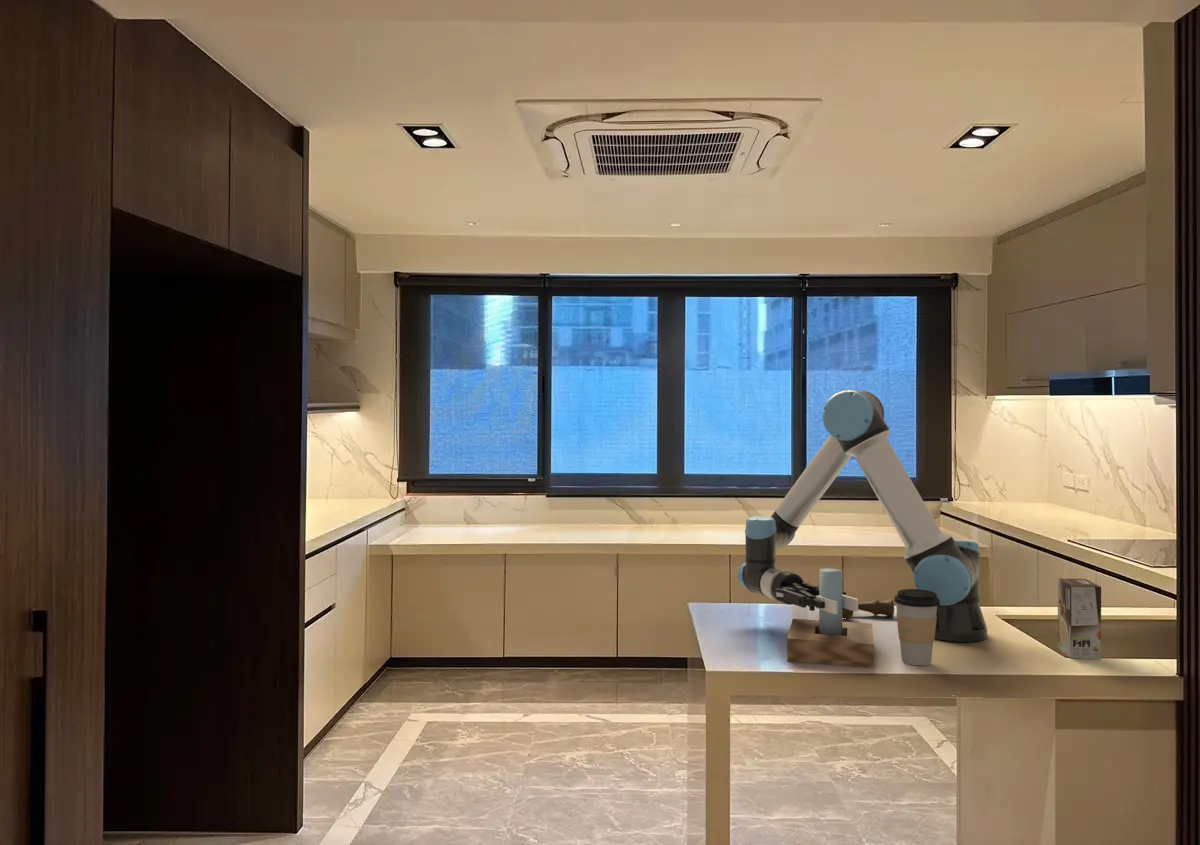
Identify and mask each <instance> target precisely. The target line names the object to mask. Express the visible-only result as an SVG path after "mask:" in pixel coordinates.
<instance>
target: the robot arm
mask: <svg viewBox="0 0 1200 845" xmlns="http://www.w3.org/2000/svg"><path fill="white" fill-rule="evenodd" d="M821 418H822V419H821V420H822V423H823V426H824V429H825V430H826V432H828V434H829V436H828V437H827V438H826V439H825V441H824V442H823V443H822V446H820V448H819V449H818V451H817V452H816V454H815V455H814V457H813V458H811V460H810V462H809V463H808V465H806V467H805V469H804V470H803V472H802V473H801V474H800V476H799V477H798V478H797V480H796V481H795V483H794V484H793V486H791V488H790V490H789V491H788V492H787V494H786V495H785V496H784V498H783V500H781V502H780V503H779V504H778V506H777V507H776V508H775V510H774V511H773V513H772V514H771V516H765V515H763V516H761V515H760V516H759V515H758V516H757V515H756V516H750V517H747V519H746V520H745V530H744V533H745V562H743V563H742V564H741V565H740V567H739V570H738V571H737V581H738V583H739V585H740V586H741V587H742V588H743V589H745V590H748V591H749V592H750V593H753V594H757V595H760V596H763V597H766V598H769V599H772V600H774V602H776V603H777V602H780V603H783V604H786V605H794V606H798V607H800V608H805V609H806V608H807V607H809V610H808V611H811V612H812V611H813V612H814V611H815V610H816V609H818V610H819V609H821V610H824V611H826V612H829V613H832V614H838V602H837V601H834V600H831V599H828V598H825V597H821V596H819V584H818V585H813V584H810V583H809V582H805V581H804V580H803V578H802V577H801V575H799V574H797V573H794V572H791V571H787V570H784V569H781V568H777V567H776V558H777V557H776V554H777V553H776V552H777V549H779V548H782V547H785V546H788V545H789V544H790V543H791V542H792V541H793V540H794V538H795V536H796V532H797V531H798V529H799V527H800V526H801V525H802V524H803V522H804V521H805V520H806V518H807V517H808V515H809V514H810V512H812V510H813V509H814V508H815V506H816V505H817V503H819V501H820V500H821V498H822V497H823V496H824V494H825V493H826V491H827V490H828V489H829V488H830V486H831V485H832V484H833V482H834V481H835V479H836V478H837V477H838V475H839V474H840V473H841V471H842V470H844V468H845V466H846V465H847V463H848V462H849V461H850V459H851V458H852V457H853V458H855V460H856V462H857V464H858V465H859V467H860V470H861V471H862V473H863V475H864V476H865V477H866V480H867V481H868V483H869V485H870V486H871V489H872V490H873V492H874V493H875V496H876V497H877V499H878V500H879V503H880V504H881V506H882V508H883V509H884V512H885V513H886V514H887V516H888V519H889V520H890V522H891V523H892V525H893V527H894V529H895V531H896V533H897V534H898V536H899V539H901V541H902V543H903V545H904V546H905V553H904V557H903V558H904V560H905V562H906V564H907V566H908V567H909V569H910V571H911V573H912V574H913V576H912V579H913V584H914V587H915V589H919V590H927V591H931V592H934V593H936V595H937V598H938V599H939V600H940V605H938V606H937V612H936V616H937V620H936V629H935V638H934V640H938V641H939V640H940V641H946V642H955V643H956V642H957V643H974V642H975V643H977V642H980V641H984V640H986V639H987V638H988V627H987V624H986V620H985V618H984V615H983V612H982V609H981V605H980V557H981V552H980V545H979V544H978V542H976V541H974V540H973V541H972V540H962V539H954V538H953V536H952V535H951V534H949V533H947V532H946V533H945V532H943V531H942V530H941V529H940V528H939V526H938V523H937V522H936V520H935V518H934V517H933V516H932V513H931V512H930V510H929V509H928V506H927V505H926V503H925V501H924V500H923V498H922V497H921V494H920V493H919V491H918V489H917V488H916V486H915V485H914V482H913V481H912V479H911V477H910V475H909V474H908V471H906V469H905V467H904V466H903V464H902V462H901V460H900V458H899V457H898V456H897V453H896V451H895V450H894V449H893V447H892V445H891V443H890V441H889V436H890V433H891V430H890V428H889V426H888V425H887V423H886V421H885V409H884V405H883V402H882V401H881V400H880V398H878V397H877V396H876V395H875V394H873V393H872V392H869V391H866V390H857V389H844V390H842V391H839V392H837V393H835V394H834V395H832V396H831V397H830V398H829V399H827V401H826V403H825V404H824V406H823V409H822V416H821ZM858 603H859V599H858V598H856V597H852V596H849V595H847V592H846V591H845V590H842V608H845V609H848V610H852V611H854V612H857V613H859V610H858Z"/></svg>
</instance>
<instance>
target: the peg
mask: <svg viewBox="0 0 1200 845" xmlns="http://www.w3.org/2000/svg"><path fill="white" fill-rule="evenodd" d="M818 571H819V577H818V578H819V580H818V581H819V584H818V585H819V596H821V597H825V598H828V599H831V600H834V601H837V602H838V614H832V613H829V612H826V611H824V610H821V609H818V610H819V613H818V615H819V618H818V620H819V634H827V635H842V622H843V619H842V591H843V570H841V569H837V568H820V569H819V570H818Z"/></svg>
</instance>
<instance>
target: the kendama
mask: <svg viewBox="0 0 1200 845" xmlns="http://www.w3.org/2000/svg"><path fill="white" fill-rule="evenodd" d="M858 611H863V612H868V613H871V614H872V615H873V616H878V615H884V616H886V617H888V618H890V617H891V619H892V618H893V617H894V615H895V602H894V599H892V598H887V600H878V599H876V598H874V599H872V600H870V601H864V602H863V601H862V602H858ZM854 612H855V611H852V610H848V609H845V608H842V618H844V619H843V620H848V619H851V618H852V616H853V615H854ZM845 618H846V619H845Z"/></svg>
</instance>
